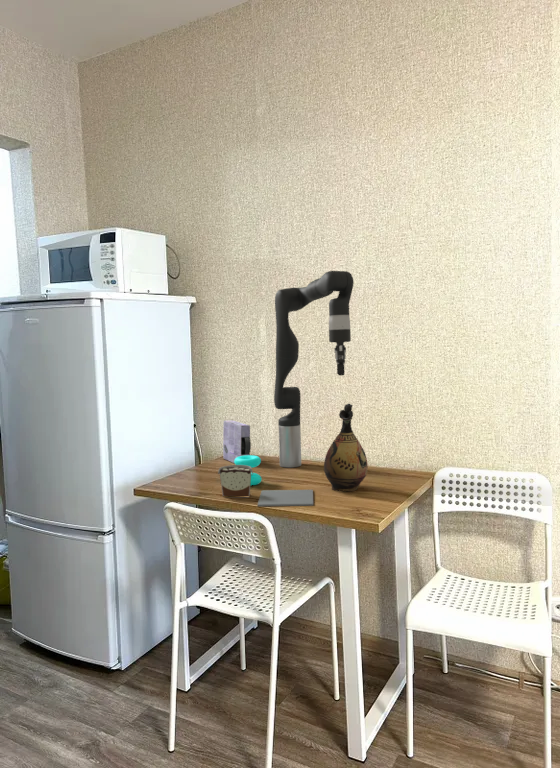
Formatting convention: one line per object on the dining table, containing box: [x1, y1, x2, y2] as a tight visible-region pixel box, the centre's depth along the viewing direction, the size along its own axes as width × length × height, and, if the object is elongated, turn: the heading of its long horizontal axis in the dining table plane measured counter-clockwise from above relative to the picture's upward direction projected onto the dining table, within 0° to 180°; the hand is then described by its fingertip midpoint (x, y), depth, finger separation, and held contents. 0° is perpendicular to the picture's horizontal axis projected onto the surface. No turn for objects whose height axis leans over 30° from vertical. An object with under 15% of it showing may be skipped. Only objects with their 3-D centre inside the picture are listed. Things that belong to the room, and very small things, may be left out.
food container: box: [217, 464, 254, 497], centre depth 211 cm, size 12×6×10 cm, turn 80°
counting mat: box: [257, 489, 314, 507], centre depth 205 cm, size 18×18×1 cm
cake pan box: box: [222, 419, 252, 464], centre depth 266 cm, size 19×5×18 cm, turn 30°
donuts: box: [233, 454, 263, 487], centre depth 227 cm, size 10×10×10 cm
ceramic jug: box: [323, 403, 369, 493], centre depth 216 cm, size 17×15×30 cm
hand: (340, 374), depth 214 cm, fingers open, 8 cm apart
